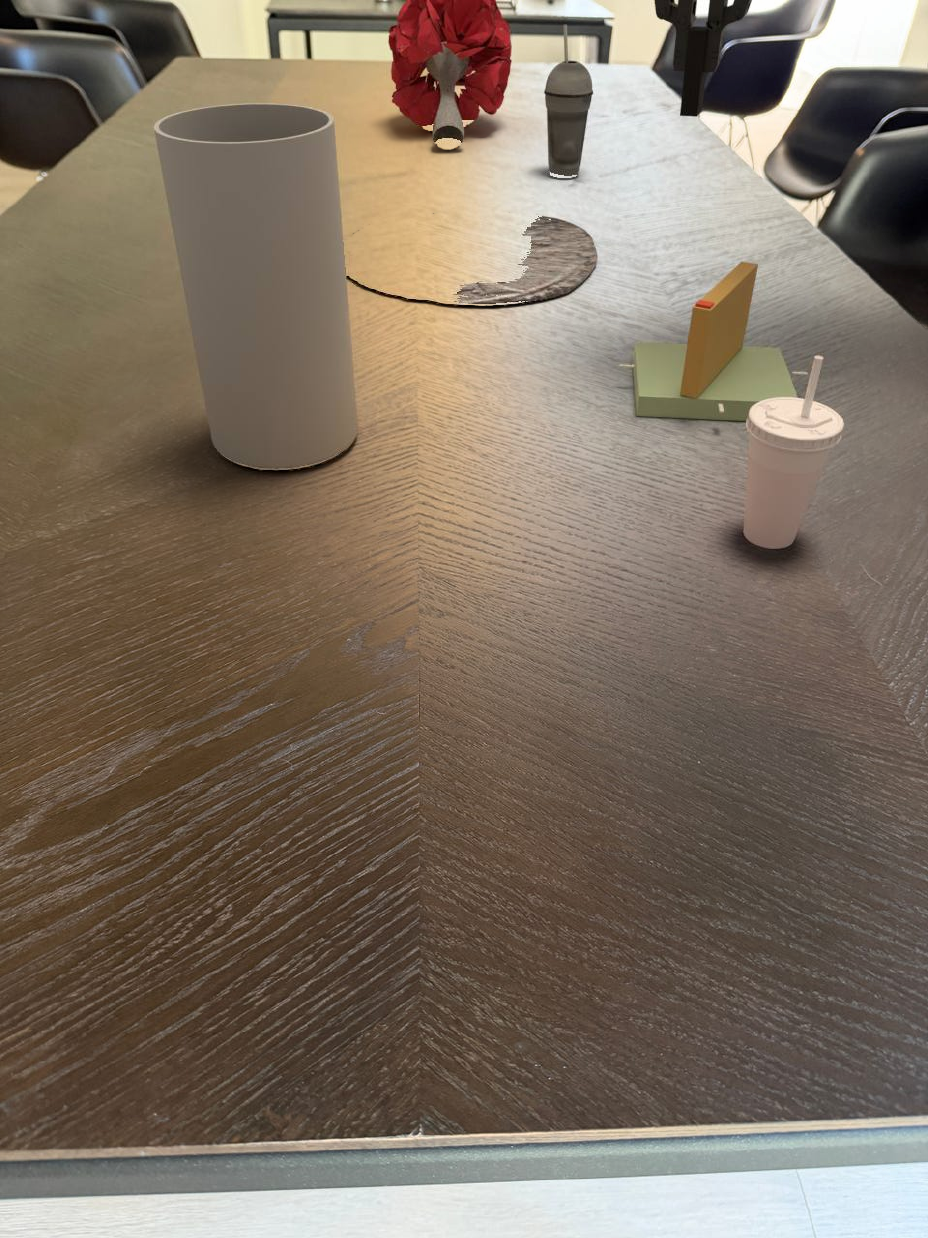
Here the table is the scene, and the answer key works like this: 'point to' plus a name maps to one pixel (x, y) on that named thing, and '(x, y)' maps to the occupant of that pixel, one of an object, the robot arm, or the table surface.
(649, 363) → the flat green base panel
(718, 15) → the robot arm
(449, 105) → the bouquet
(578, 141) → the beverage cup
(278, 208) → the cylinder vase
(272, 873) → the table surface
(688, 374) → the red-tabbed upright panel
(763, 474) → the smoothie
